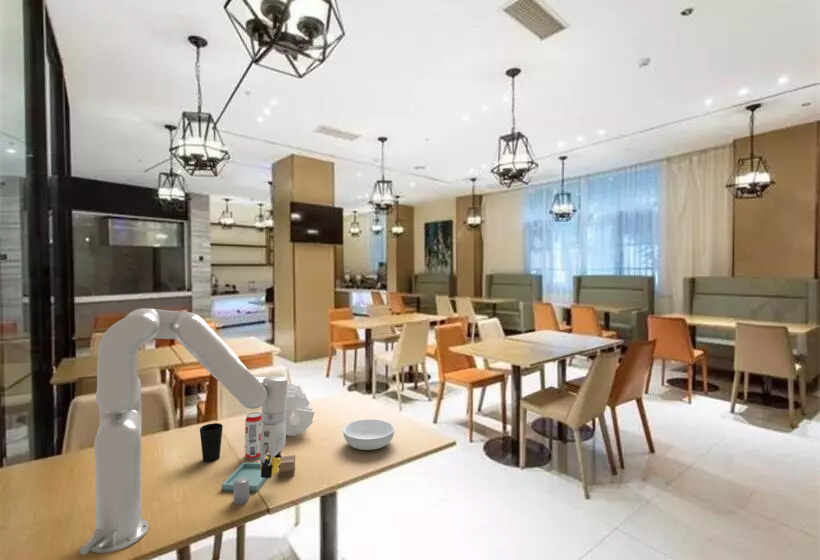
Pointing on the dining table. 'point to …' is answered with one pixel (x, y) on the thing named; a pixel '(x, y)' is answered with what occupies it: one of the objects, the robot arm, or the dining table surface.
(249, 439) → the beer can
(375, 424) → the serving bowl
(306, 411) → the spiral staircase
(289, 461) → the walnut cube
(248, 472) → the tray
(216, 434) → the cup
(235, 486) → the grey cylinder
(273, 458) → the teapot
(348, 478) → the dining table surface
